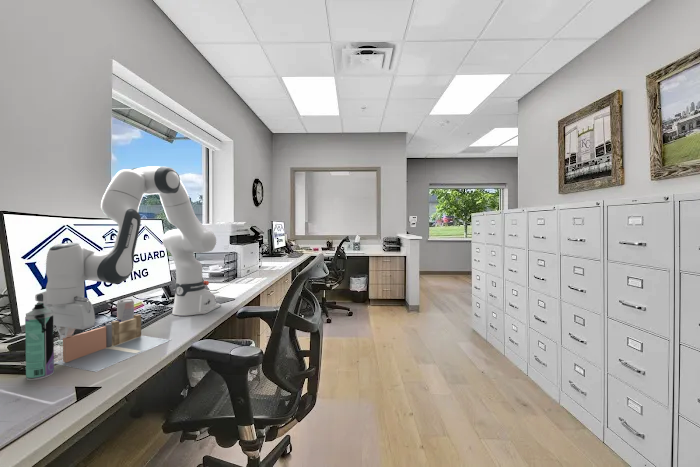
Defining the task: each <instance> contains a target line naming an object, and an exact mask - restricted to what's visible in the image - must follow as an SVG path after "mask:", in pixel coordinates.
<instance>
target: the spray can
mask: <svg viewBox="0 0 700 467" xmlns="http://www.w3.org/2000/svg"><path fill="white" fill-rule="evenodd" d="M37 303H38V302H37ZM37 303H36V304H34V307H33V308H32V309H31V310H30V311H29V312H27V313H25V318H24V322H25V323H24V324H25V325H24V326H25V327H24V329H25V334H24V336H25V377H26V378H25V379H26V380H28V381H36V380H41V379H44V378H48V377H49V376H51V375H53V374H54V373H55V364H54V362H55V355H54V354H55V347H54V344H55V343H54V342H55V341H54V336H55V335H54V332H55V331H54V325H53V313H52V312H53V311H52V310H49V309H46V308H47V307H45V306H44V304H43V303H38V304H37Z"/></svg>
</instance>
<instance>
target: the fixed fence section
mask: <svg viewBox="0 0 700 467" xmlns="http://www.w3.org/2000/svg"><path fill="white" fill-rule="evenodd" d="M110 324H112V345H114V346H115V345H118V344H120V343H123V342H125V341H128V340H131V339H134V338H136V337H140V336H141V335H142V314H140V313H139V314H138V313H136V314H134V318H133V319H130V320H126V321H123V322H120V323H119V321H117V320H113V321H111V322H110Z"/></svg>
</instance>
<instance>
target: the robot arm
mask: <svg viewBox="0 0 700 467" xmlns="http://www.w3.org/2000/svg"><path fill="white" fill-rule="evenodd" d="M144 195H149V196H150V195H153V196H155V195H158V196H159V199H160V202H161V205H162V207H163V210H164V213H165V217H166V219H167V221H168V222H169V223H170V224H171V225H173V226H174V227H176V228H175V229H171V230H168V231H166V232H165V233H164V235H163V237H162V245H163V247H164V248H165V249H166V250H167V251H168V252H169V253H170V255H171V257H172V259H173V262H174V265H175V283H174V290H175V294H174V301H173V307H172V309H173V310H172V313H171V314H172V315H175V316H183V317H184V316H193V315H202V314H203V315H205V314H208V313H210V312H212V311H214V310H215V309H218V308H220V307H221V306H222V305H221V303H219V302H216V296H215V294H214V293H212V292H211V291H210V290H208V289H207V288H206V286H209V284H210V281H209V280H203V264H202V263H201V262H200V261H199V260H197V258H196V256H195V254H203V253H208V252H212V251H213V250H214V248H215V247H216V245H217V237H216V235H215V233H214V232H212V231H211V230H210V229H208V228H207V227H205V225H204V224H202V222H201V221H200V220H199V218H198V217H197V216H196V214H195V211H194V208H193V206H192V203H191V200H190V196H189V194H188V191H187V190H186V187H185V184H183V182H182V180H181V178H180V175H179V173H178V172H177V171H176V170H175V169H174V168H172V167H169V166H153V165H151V166H150V165H149V166H144V167H134V168H131V169H129V168H128V169H127V168H126V169H120V170H118V172H117V173H116V174H115V175H114V176H113V178H112V179H111V181H110V183H109V184H108V186H107V188H106V189H105V192H104V194H103V195H102V199H101V202H100V209H101V210H102V213H103V214H104V215H105V216H106V217H107V218H108V219H110V220H111V221H114V222H116V224H117V225H118V230H117V234H116V237H115V241H114V245H113V248H112V249H111V250H110V251H109V252H105V251H96V250H92V249H90V248H87V247H85V246H84V245H82V244H81V242H63V243H57V244H55V245H53V246H51V247H50V248H49V249H48V251H47V253H46V260H45V274H46V277H47V283H46V286H45V291H43V292H40V293H37V294H35V297H34V298H35V299H34V300H35V301H36V304H38V303H43V304H44V306H45V307H47V308H46V309H49V310H52V311H53V312H52V313H53V326H56V331H57V333H58V335H59V340H60V341H63V338H66V337H70V336H73V335H74V333H75V331H76V330H80V331H81V330H88V329H91V328H92V327H94V326H95V324H96V317H95V316H96V315H95V308H94V305H93V304H92V302H91V301H90V300H89V298H87V297H85V281H92V282H103V283H108V284H113V285H117V284H121V283H124V281H126V280H128V278H129V277H130V276H131V275H132V273H133V270H134V259H135V258H134V256H135V251H136V247H137V242H138V239H139V238H138V237H139V233H140V229H141V222H142V218H141V214H140V213H139V209H140V205H141V203H142V199H143V197H144ZM194 253H195V254H194Z"/></svg>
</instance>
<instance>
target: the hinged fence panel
mask: <svg viewBox="0 0 700 467" xmlns="http://www.w3.org/2000/svg"><path fill="white" fill-rule="evenodd" d="M111 346H112V324H111V323H106V324H104V326H101V327H97V328H93V329H91V330H87V331H84V332H81V333H77V334H73V336H70V337H66V338H63V340H62V359H63V362H66V363H67V362H69V361H72V360H74V359H77V358H80V357H83V356H85V355H88V354H91V353H94V352H96V351H99V350H102V349H105V348H106V347H111Z"/></svg>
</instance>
